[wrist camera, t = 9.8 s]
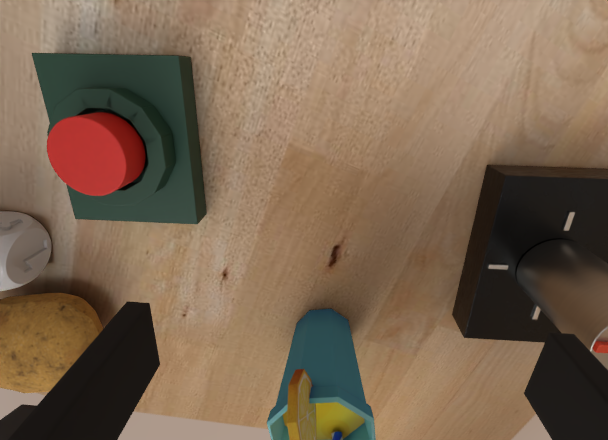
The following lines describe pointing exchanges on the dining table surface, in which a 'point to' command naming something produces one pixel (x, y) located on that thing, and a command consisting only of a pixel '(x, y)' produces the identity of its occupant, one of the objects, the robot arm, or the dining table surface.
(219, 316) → the dining table surface
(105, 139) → the button
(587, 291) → the dial
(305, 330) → the cup
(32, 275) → the die
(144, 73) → the button box
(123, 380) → the robot arm
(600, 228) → the panel
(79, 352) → the potato
